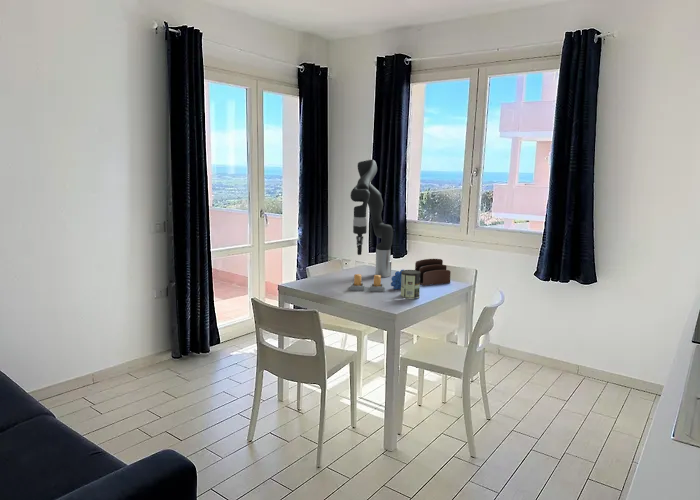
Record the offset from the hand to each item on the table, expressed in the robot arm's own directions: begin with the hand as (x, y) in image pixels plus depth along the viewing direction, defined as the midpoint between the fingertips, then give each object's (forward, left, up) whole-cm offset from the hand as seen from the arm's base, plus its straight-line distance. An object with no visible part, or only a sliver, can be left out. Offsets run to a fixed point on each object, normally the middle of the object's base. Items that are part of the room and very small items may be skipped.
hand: (359, 253), depth 289 cm
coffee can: (-16, +27, -21) cm, 38 cm away
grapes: (-20, +12, -21) cm, 31 cm away
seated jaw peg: (-7, +9, -20) cm, 23 cm away
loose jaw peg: (+2, +2, -20) cm, 20 cm away
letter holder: (-50, +6, -21) cm, 54 cm away
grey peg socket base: (-2, +6, -21) cm, 22 cm away
